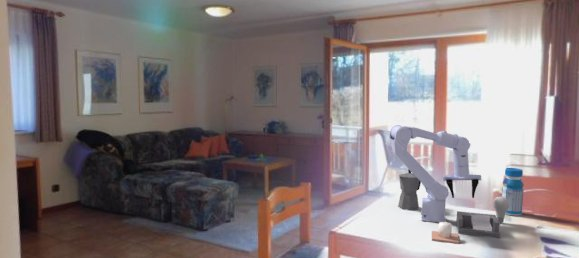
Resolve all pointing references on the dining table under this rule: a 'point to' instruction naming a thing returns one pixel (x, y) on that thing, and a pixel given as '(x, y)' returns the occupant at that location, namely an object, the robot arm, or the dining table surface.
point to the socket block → (465, 222)
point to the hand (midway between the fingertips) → (463, 197)
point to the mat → (452, 240)
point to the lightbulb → (500, 207)
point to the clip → (481, 222)
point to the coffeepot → (409, 191)
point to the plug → (445, 229)
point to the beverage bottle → (513, 190)
